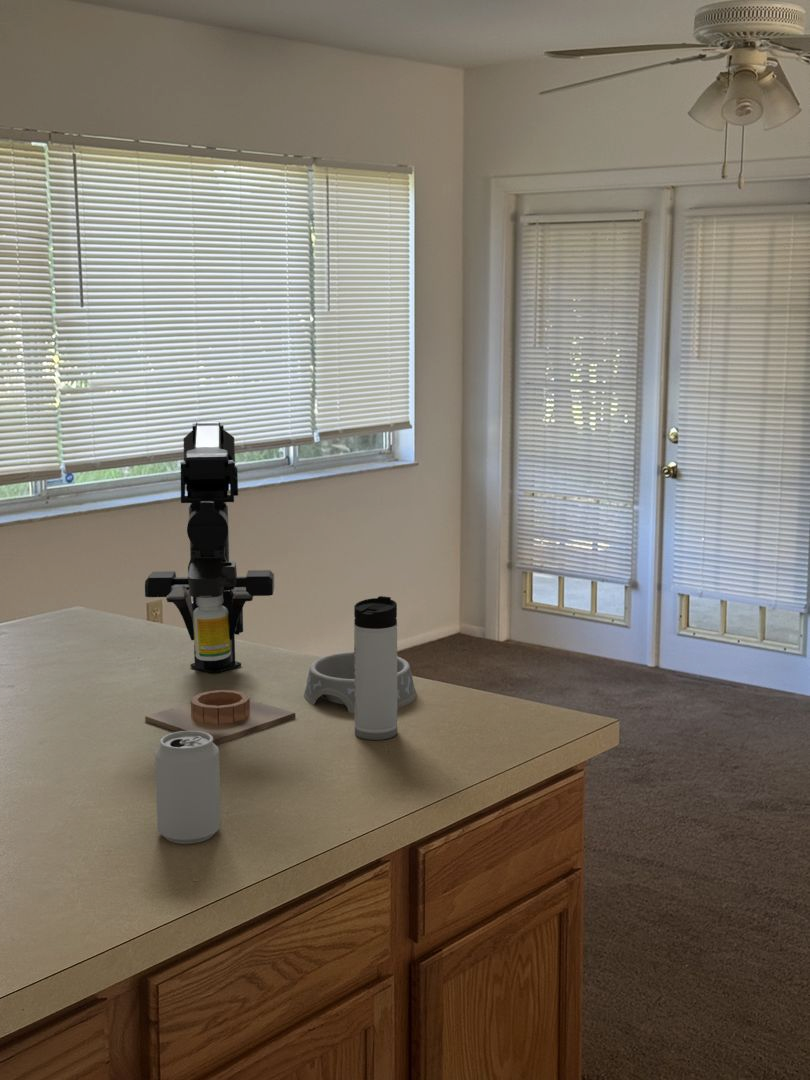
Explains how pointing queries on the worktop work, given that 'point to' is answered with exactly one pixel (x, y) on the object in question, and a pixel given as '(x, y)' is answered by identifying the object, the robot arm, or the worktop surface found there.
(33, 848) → the worktop surface
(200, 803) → the can
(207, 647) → the supplement bottle
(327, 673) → the dog bowl
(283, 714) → the collar board
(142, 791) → the worktop surface
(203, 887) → the worktop surface
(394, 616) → the travel mug
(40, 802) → the worktop surface
